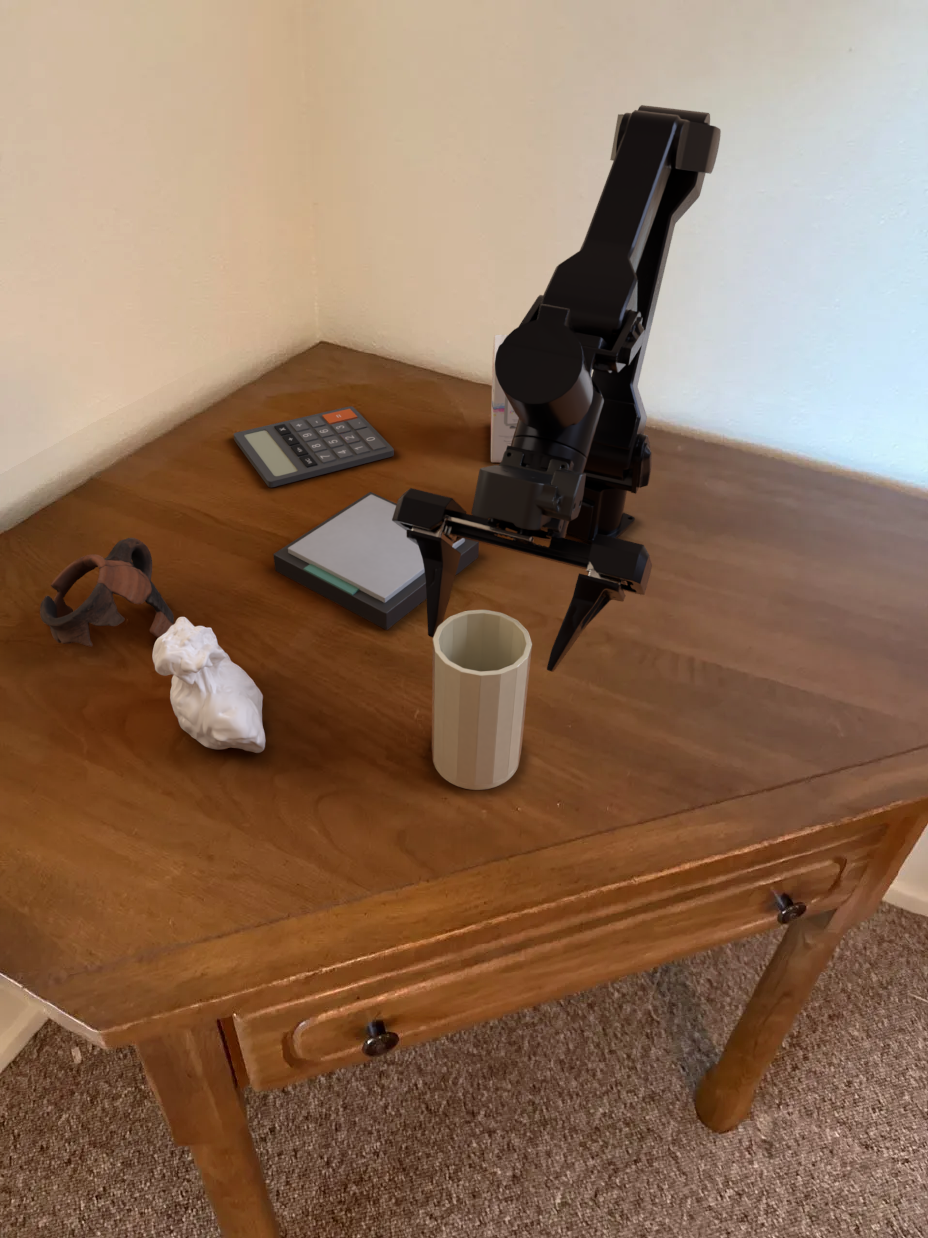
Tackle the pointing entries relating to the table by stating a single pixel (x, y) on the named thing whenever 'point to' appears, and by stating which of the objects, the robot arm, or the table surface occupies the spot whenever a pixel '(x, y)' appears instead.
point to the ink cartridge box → (500, 413)
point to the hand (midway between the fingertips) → (489, 653)
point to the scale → (364, 561)
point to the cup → (479, 697)
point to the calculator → (312, 446)
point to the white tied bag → (209, 689)
